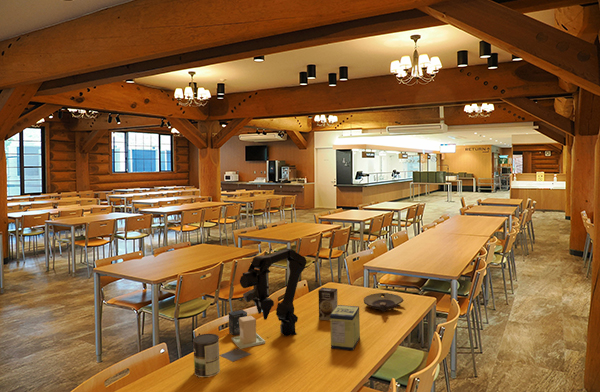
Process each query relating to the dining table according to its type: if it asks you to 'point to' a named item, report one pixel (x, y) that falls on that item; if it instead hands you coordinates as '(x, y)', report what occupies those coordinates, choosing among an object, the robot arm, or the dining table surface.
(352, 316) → the protein box
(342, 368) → the dining table surface
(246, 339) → the carton
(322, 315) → the coffee box
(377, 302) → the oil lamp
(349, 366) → the dining table surface
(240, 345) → the tray
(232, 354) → the mat
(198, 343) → the coffee can
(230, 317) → the box
